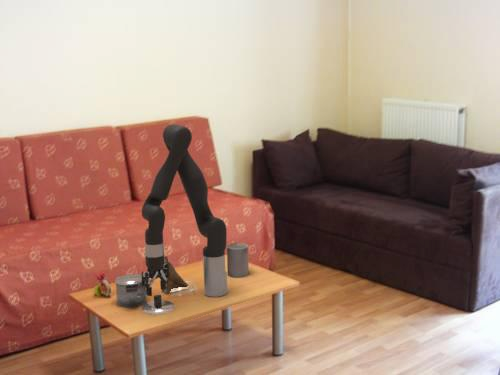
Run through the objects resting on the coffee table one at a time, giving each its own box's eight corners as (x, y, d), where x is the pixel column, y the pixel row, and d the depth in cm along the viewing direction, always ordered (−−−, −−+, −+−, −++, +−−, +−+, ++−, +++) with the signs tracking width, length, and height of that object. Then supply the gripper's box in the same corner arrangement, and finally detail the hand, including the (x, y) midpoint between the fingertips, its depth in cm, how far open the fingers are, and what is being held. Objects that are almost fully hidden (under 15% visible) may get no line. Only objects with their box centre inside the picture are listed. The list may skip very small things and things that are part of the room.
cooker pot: (116, 295, 301) (114, 273, 299) (145, 292, 304) (144, 270, 302) (117, 311, 284) (115, 287, 282) (148, 308, 287) (147, 284, 284)
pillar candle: (225, 272, 327) (224, 241, 323) (245, 269, 330) (244, 238, 326) (231, 279, 318) (229, 247, 314) (251, 276, 321) (250, 244, 317)
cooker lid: (172, 301, 294) (172, 288, 293) (176, 313, 281) (175, 300, 280) (141, 304, 291) (140, 292, 290) (143, 316, 279) (142, 303, 278)
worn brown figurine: (167, 300, 302) (156, 262, 296) (161, 296, 306) (151, 258, 300) (191, 288, 307) (181, 251, 301) (185, 285, 312) (175, 248, 306)
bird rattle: (114, 299, 304) (101, 287, 308) (119, 278, 298) (106, 266, 303) (102, 303, 299) (89, 291, 304) (107, 282, 294) (94, 270, 299)
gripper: (159, 248, 289) (160, 285, 292) (135, 256, 277) (137, 296, 281) (173, 250, 285) (174, 289, 288) (150, 259, 273) (151, 299, 277)
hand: (156, 292), depth 285 cm, fingers open, 8 cm apart
